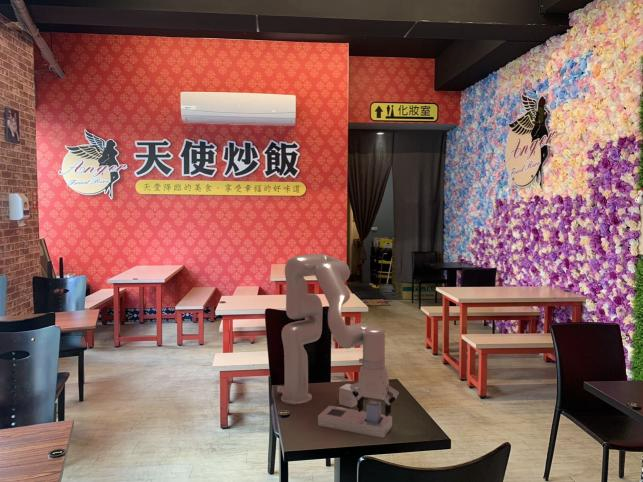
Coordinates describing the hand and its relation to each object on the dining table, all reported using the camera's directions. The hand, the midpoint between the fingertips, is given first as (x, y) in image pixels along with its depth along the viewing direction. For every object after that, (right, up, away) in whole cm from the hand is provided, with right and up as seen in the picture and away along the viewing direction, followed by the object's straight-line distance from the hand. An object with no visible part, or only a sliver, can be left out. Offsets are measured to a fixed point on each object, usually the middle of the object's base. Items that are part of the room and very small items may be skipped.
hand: (373, 412), depth 162 cm
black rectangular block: (-3, -6, +32) cm, 33 cm away
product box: (-7, -6, +23) cm, 25 cm away
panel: (-6, -6, +3) cm, 9 cm away
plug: (0, -6, 0) cm, 6 cm away
